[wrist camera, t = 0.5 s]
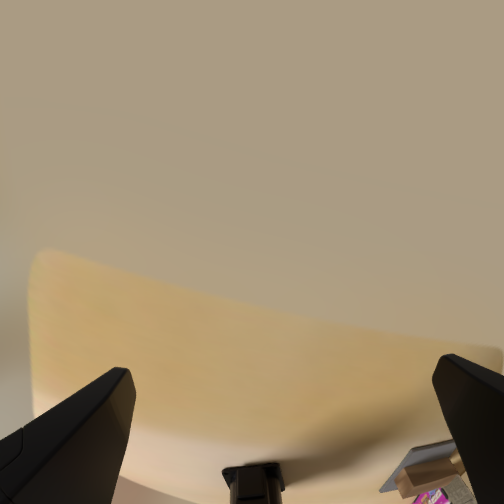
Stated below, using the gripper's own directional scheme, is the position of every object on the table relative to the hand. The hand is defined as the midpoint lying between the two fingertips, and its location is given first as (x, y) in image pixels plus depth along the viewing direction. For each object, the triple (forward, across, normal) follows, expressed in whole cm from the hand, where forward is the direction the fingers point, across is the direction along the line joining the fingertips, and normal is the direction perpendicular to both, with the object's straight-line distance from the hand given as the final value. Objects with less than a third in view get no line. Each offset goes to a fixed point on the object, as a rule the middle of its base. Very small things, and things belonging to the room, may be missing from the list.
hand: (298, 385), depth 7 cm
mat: (+12, -24, +32) cm, 42 cm away
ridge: (+12, -24, +32) cm, 42 cm away
